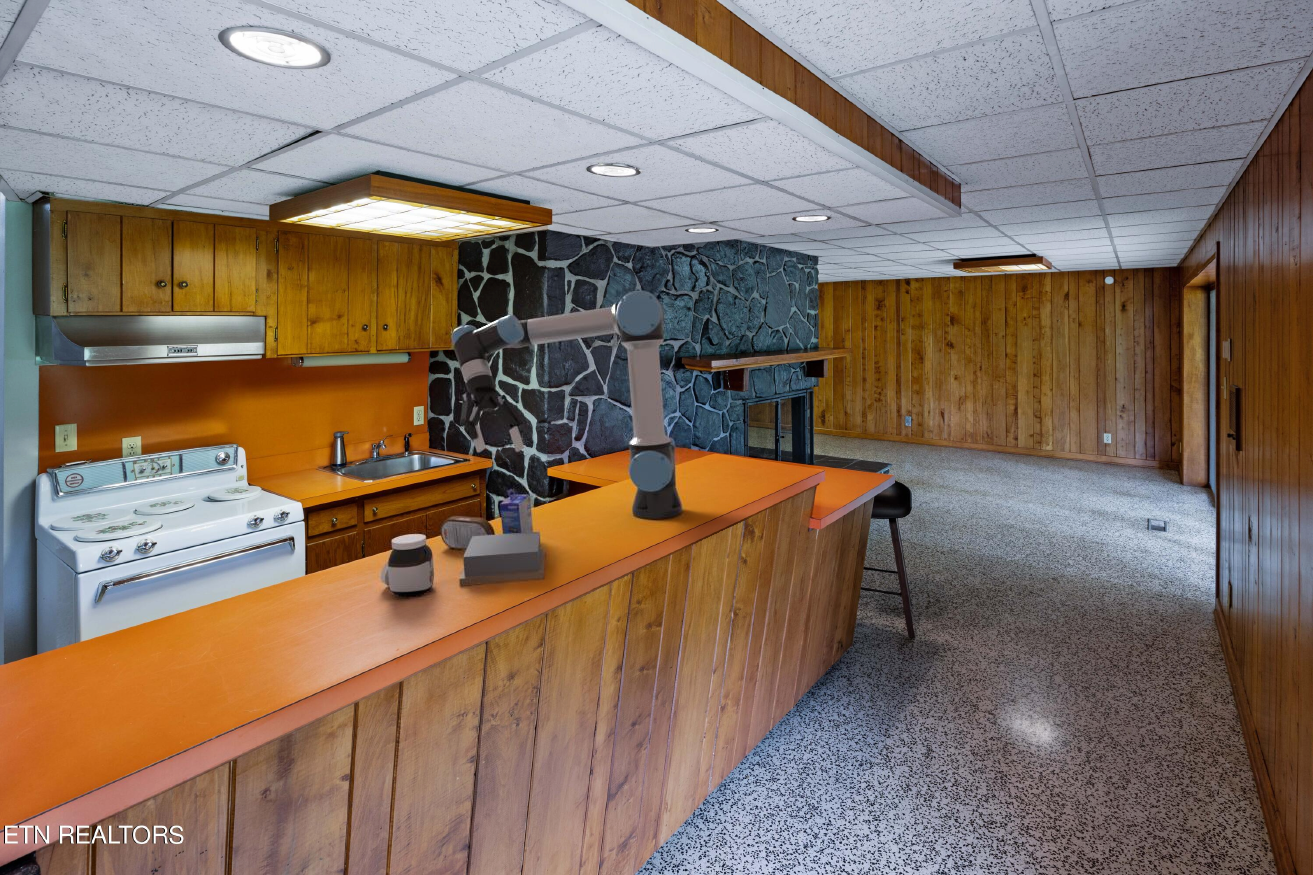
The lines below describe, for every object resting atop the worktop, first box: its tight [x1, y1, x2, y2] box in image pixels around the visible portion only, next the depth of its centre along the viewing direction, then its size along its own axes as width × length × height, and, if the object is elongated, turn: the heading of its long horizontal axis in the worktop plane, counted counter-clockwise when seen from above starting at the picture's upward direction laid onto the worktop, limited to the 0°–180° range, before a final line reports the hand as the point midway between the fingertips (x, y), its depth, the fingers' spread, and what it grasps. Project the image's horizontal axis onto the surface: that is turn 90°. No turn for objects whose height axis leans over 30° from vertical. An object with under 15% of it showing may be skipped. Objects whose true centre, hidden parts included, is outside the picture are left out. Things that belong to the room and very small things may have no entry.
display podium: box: [459, 531, 546, 586], centre depth 152 cm, size 18×18×6 cm
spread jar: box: [379, 533, 435, 599], centre depth 140 cm, size 12×11×12 cm
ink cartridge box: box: [499, 488, 534, 534], centre depth 170 cm, size 10×6×14 cm, turn 174°
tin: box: [439, 515, 496, 551], centre depth 168 cm, size 15×3×8 cm, turn 71°
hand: (501, 450), depth 175 cm, fingers open, 13 cm apart
